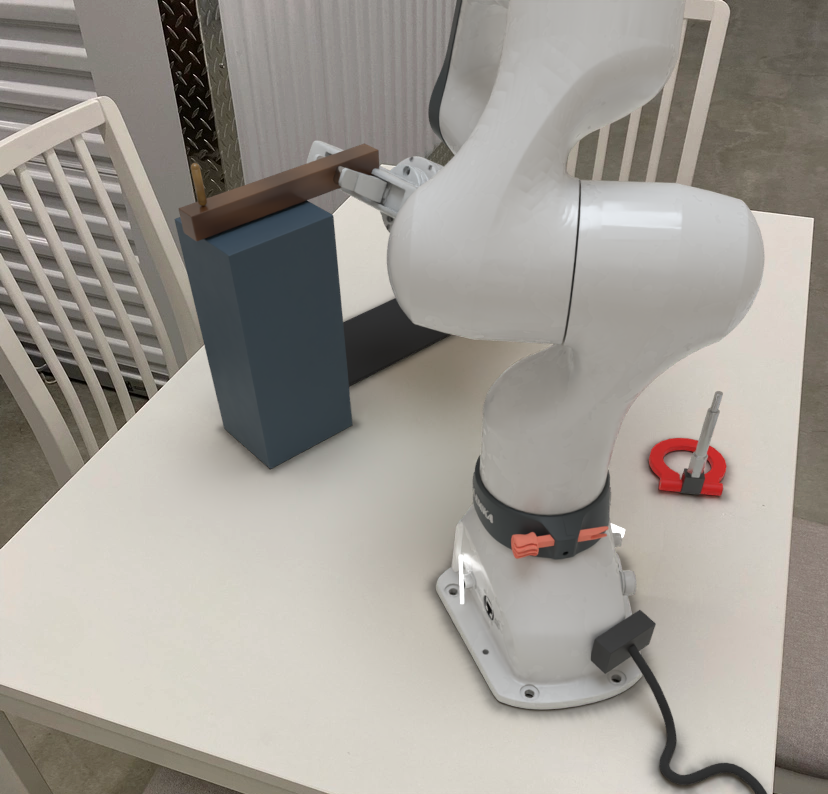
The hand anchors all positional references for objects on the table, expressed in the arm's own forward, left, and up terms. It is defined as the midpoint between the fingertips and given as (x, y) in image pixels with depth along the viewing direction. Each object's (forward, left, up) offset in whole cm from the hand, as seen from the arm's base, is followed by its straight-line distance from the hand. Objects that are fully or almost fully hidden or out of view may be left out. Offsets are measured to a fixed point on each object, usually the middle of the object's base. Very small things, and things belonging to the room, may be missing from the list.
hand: (327, 169), depth 82 cm
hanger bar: (-3, +5, -2) cm, 6 cm away
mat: (+11, -5, -28) cm, 31 cm away
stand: (-5, +8, -28) cm, 29 cm away
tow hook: (-22, -36, -28) cm, 50 cm away
